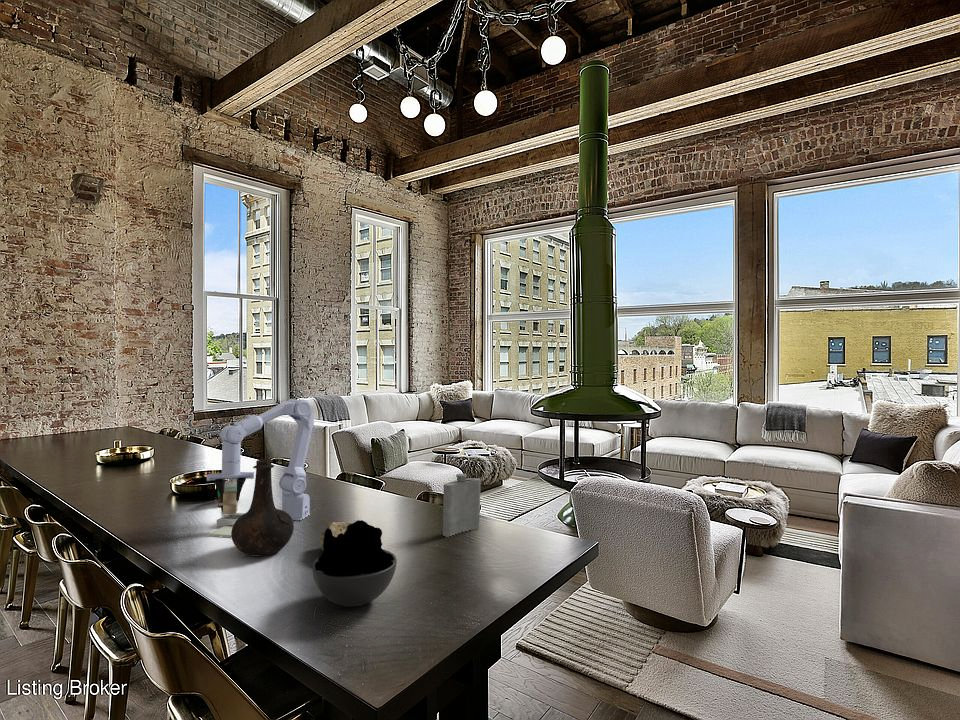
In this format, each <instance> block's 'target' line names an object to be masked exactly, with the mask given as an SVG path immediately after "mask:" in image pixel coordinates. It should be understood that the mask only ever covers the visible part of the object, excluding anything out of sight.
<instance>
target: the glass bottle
mask: <svg viewBox="0 0 960 720" xmlns="http://www.w3.org/2000/svg"><path fill="white" fill-rule="evenodd" d="M272 462H273V459H271V458H267V459H266V458H263V459H258V460H256V462H255V464H256V465H254V466H253V467H252V468H253V469H255V477H254V479H255V480H254V486H253V487H254V488H253V495H252V498H251V499H252V500H251V504H250V507H249V509H248V510H247V511H246V512H245V514H243V515H242V516H240V517H239V518H238V519H237V520H236V522H235V523H234V525H233V528H232V532H231V537H232V538H231V537H230V538H231V540H232V542H233V545H234V546H235V548H236V549H237V550H238V551H240V553H242V554H244V555H247V556H251V557H262V556H263V557H264V556H269V555H273V554H274V553H275V554H276V553H277V552H279V551H281V550H283V548H284V547H286V545H287V544H288V543H289V541H290V540H291V538H292V536H293V534H294V530H295V524H294V520H292V518H291V516H290V515H289V514H288V513H286V512H285V511H283V510H282V509H279V508H277V507H276V505H275V502H274V497H273V496H274V495H273V486H272V485H273V482H272V480H273V479H272V469H274V467H275V465H274V464H272Z"/></svg>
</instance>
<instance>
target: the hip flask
mask: <svg viewBox="0 0 960 720" xmlns="http://www.w3.org/2000/svg"><path fill="white" fill-rule="evenodd" d="M455 477H456V480H455V481H450V482H446V483H444V484H443V496H442V497H443V499H442V500H443V505H442V506H443V507H442V508H443V510H442V537H443V536H445V537H444V538H450V537H449V536H451V537H453V536H452V535H454V536H456V535H455V534H457V535H459V534H458V533H460V534H462V533H461V532H463V533H466V532H465V531H467V532H470V531H469V530H471V531H476V530H475V529H477V530H480V528H481V525H480V524H481V519H480V518H481V478H478V477H474V478H472V477H471V478H470V477H469V478H467V474H466V473H456V475H455Z"/></svg>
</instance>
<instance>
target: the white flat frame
mask: <svg viewBox="0 0 960 720" xmlns="http://www.w3.org/2000/svg"><path fill="white" fill-rule="evenodd" d="M245 513H246V512H245ZM245 513H244V512H236V514H225V515H224V516H222V517H220V518H218V519H216V524H215V525H216V526H215V527H216V528H221V527H223V526H229V527H233V525H234V523H235V522H236V520H237V519H238V518H239V517H240V516H242V515H243V514H245Z"/></svg>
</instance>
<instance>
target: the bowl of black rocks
mask: <svg viewBox="0 0 960 720" xmlns="http://www.w3.org/2000/svg"><path fill="white" fill-rule="evenodd" d="M352 523H353V524H351V525H348V526H347V530H346V531H345V532H344V534H342V533H340V534H338V536H337V537H334V536H333V535H332V530H331V529H329V528H327V527H326V528H327V529H326V528H325V529H326V531H325V530H324V531H325V534H324V541H323V548H322V551H323V552H322V554H320V556H319V557H317V558H316V559H315V560H314V561H313V563H312V565H311V570H312V577H313V580H314V583H315V585H316V587H317V588H318V590H319V592H320V593H321V594H322V595H323V597H324V598H326V599H327V600H328V601H330V602H332V603H334V604H335V605H339V606H343V607H351V608H352V607H359V606H364V605H367V604H368V603H370V602H371V603H372V602H373V601H374V600H376V599H377V598H379V596H381V595H382V594H383V593H384V592H385V590H386V589H388V587H389V586H390V584H391V582H392V579H394V575H395V572H396V569H397V563H398V560H397V559H398V558H397V557H396V555H395V554H394V553H392V552H391V551H390V550H386V549H383V548H382V545H383V543H382V535H383V531H382V529H381V528H380V527H376V526H373V525H370V524H368V523H367V521H364V520H363V519H362V520H361V519H360V520H355V521H354V522H352ZM323 549H324V550H323Z"/></svg>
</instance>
